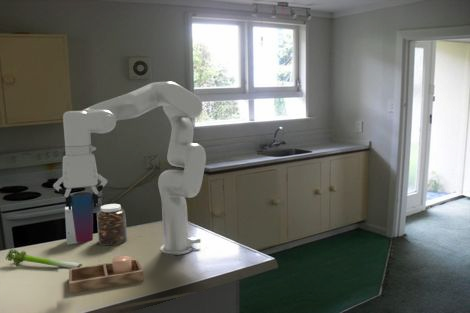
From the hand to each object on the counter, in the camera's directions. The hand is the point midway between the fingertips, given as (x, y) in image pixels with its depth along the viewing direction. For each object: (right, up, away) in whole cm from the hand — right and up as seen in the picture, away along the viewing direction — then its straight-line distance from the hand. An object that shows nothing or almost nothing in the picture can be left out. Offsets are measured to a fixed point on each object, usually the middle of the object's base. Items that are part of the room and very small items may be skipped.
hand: (82, 207), depth 137 cm
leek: (-21, -24, +21) cm, 39 cm away
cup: (0, -11, +1) cm, 11 cm away
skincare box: (-19, -20, +47) cm, 54 cm away
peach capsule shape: (+11, -24, +7) cm, 27 cm away
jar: (-3, -20, +46) cm, 50 cm away
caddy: (+6, -25, +6) cm, 26 cm away
